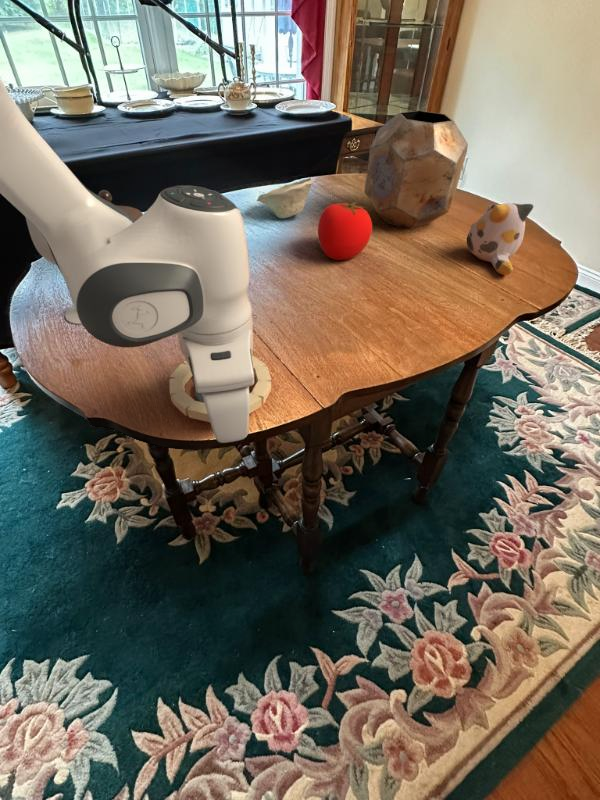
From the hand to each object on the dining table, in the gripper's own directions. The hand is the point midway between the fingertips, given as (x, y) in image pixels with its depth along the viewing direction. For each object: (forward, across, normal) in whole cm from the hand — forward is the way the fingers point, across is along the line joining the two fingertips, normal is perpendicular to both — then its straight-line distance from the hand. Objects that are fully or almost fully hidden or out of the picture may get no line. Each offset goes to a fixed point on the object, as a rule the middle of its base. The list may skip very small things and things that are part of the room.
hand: (225, 412), depth 61 cm
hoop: (+1, -6, 0) cm, 7 cm away
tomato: (+2, -48, +33) cm, 58 cm away
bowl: (+2, -72, +25) cm, 76 cm away
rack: (+2, -52, -16) cm, 54 cm away
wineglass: (+2, -33, -22) cm, 39 cm away
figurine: (+2, -37, +67) cm, 76 cm away
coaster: (+2, -7, 0) cm, 7 cm away
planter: (+2, -65, +57) cm, 86 cm away
